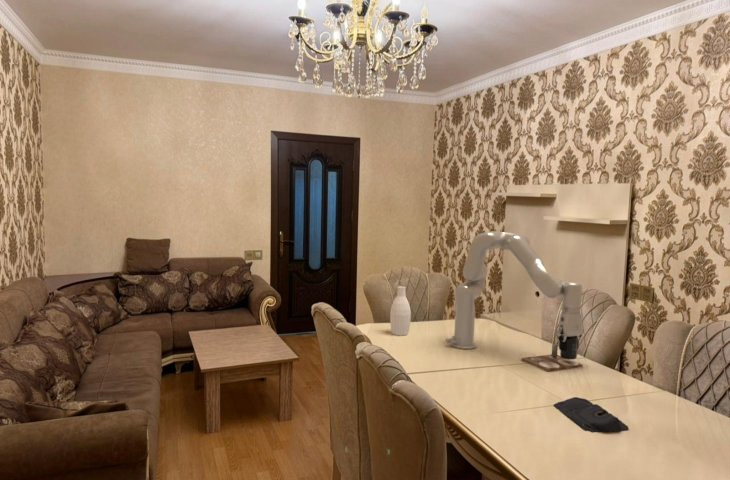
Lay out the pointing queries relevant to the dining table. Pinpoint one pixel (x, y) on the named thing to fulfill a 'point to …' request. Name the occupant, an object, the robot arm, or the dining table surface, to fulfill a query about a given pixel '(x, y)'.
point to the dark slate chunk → (590, 416)
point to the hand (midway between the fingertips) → (568, 349)
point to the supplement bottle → (570, 348)
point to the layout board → (552, 361)
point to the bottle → (400, 313)
